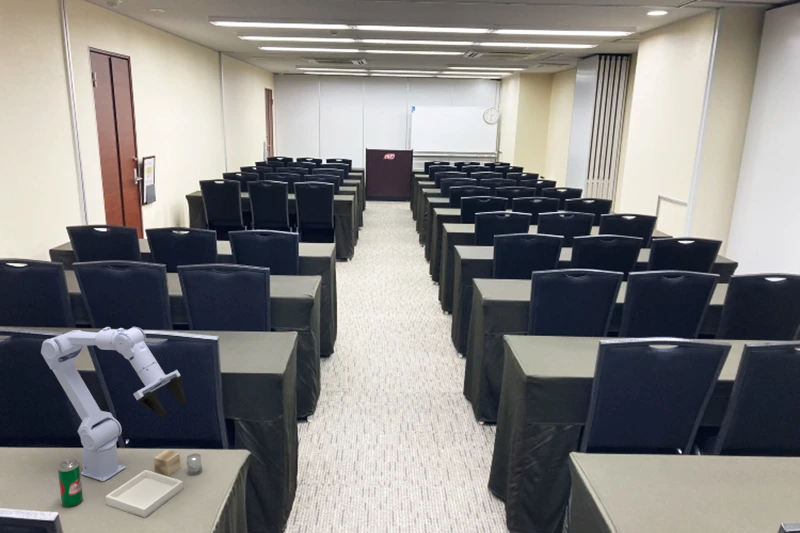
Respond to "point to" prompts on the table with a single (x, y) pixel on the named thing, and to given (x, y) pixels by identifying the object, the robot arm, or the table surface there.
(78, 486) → the soda can
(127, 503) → the tray
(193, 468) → the metal canister
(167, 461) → the birch block
